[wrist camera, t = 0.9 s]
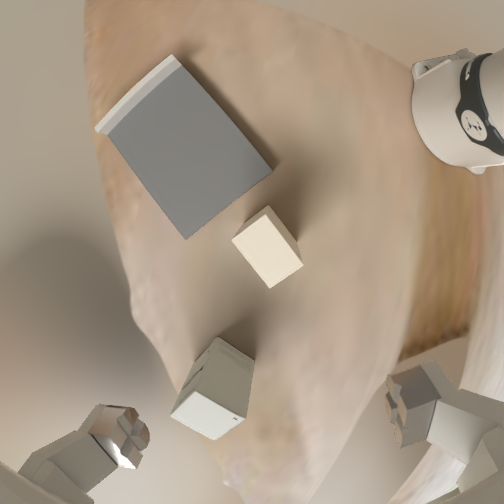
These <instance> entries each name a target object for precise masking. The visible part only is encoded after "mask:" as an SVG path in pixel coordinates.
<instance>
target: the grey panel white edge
mask: <svg viewBox="0 0 504 504" xmlns="http://www.w3.org/2000/svg"><path fill="white" fill-rule="evenodd" d="M94 129H95V130H96V132H97V133H100V134H106V135H108V137H109V138H110V139H111V141H112V142H113V144H114V145H115V147H116V148H117V149H118V151H119V152H120V154H121V155H122V156H123V158H124V159H125V161H126V162H127V163H128V165H129V166H130V167H131V169H132V170H133V172H134V173H135V174H136V176H137V177H138V178H139V180H140V181H141V182H142V184H143V185H144V187H145V188H146V189H147V191H148V192H149V193H150V195H151V196H152V197H153V199H154V200H155V201H156V203H157V204H158V205H159V206H160V208H161V209H162V210H163V212H164V213H165V214H166V216H167V217H168V218H169V220H170V221H171V222H172V223H173V225H174V226H175V227H176V229H177V230H178V231H179V232H180V234H181V235H182V236H183V237H184V239H185V240H186V239H188V238H189V237H190V236H191V235H193V234H194V233H195V232H196V231H197V230H199V229H200V228H201V227H202V226H204V225H205V224H206V223H207V222H208V221H210V220H211V219H212V218H213V217H215V216H216V215H217V214H218V213H220V212H221V211H222V210H223V209H225V208H226V207H227V206H229V205H230V204H231V203H232V202H234V201H235V200H236V199H237V198H239V197H240V196H241V195H243V194H244V193H245V192H246V191H248V190H249V189H250V188H252V187H253V186H254V185H256V184H257V183H258V182H259V181H261V180H262V179H263V178H265V177H266V176H267V175H269V174H270V173H271V172H273V171H272V169H271V168H270V167H269V166H268V164H267V163H266V162H265V160H264V159H263V158H262V157H261V155H260V154H259V153H258V152H257V151H256V149H255V148H254V147H253V146H252V144H251V143H250V142H249V141H248V139H247V138H246V137H245V136H244V135H243V133H242V132H241V131H240V130H239V129H238V127H237V126H236V125H235V124H234V123H233V122H232V120H231V119H230V118H229V117H228V116H227V115H226V113H225V112H224V111H223V110H222V109H221V108H220V106H219V105H218V104H217V103H216V102H215V101H214V100H213V98H212V97H211V96H210V95H209V94H208V93H207V92H206V91H205V89H204V88H203V87H202V86H201V85H200V84H199V83H198V82H197V81H196V80H195V79H194V77H193V76H192V75H191V74H190V73H189V72H188V71H187V70H186V69H185V68H184V67H183V66H182V65H181V64H180V62H179V61H178V60H177V59H176V58H175V57H174V56H173V55H172V54H171V55H170V56H168V57H167V58H166V59H165V60H163V61H162V62H161V63H160V64H159V65H158V66H156V67H155V68H154V69H153V70H152V71H151V72H149V73H148V74H147V75H146V76H145V77H144V78H143V79H142V80H141V81H139V82H138V83H136V84H135V85H134V86H133V87H132V88H131V89H130V90H129V91H128V92H127V93H126V94H125V95H124V96H123V97H122V99H121V100H120V101H119V102H118V103H117V104H116V105H115V106H114V107H113V108H112V109H111V110H110V111H109V112H108V113H107V115H106V116H105V117H104V118H103V119H102V120H101V121H100V122H99V123H98V125H97V126H96V127H95V128H94Z"/></svg>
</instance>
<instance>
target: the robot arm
mask: <svg viewBox="0 0 504 504" xmlns="http://www.w3.org/2000/svg"><path fill="white" fill-rule="evenodd" d="M424 67H425V68H426V69H427V70H426V69H425V68H424ZM412 74H413V79H414V89H413V94H412V113H413V118H414V122H415V125H416V127H417V130H418V132H419V134H420V136H421V138H422V140H423V141H424V143H425V144H426V146H427V147H428V148H429V149H430V150H431V152H432V153H433V154H434V155H435V156H437V157H438V158H439V159H441V160H442V161H444V162H445V163H448V164H450V165H454V166H462V167H466V168H467V169H468V170H470V171H471V172H473V173H474V174H482V173H483V172H484V170H485V169H486V167H487V166H496V165H504V49H502V50H500V51H498V52H496V53H494V54H492V53H486V54H482V55H479V56H476V55H474V54H473V53H471V52H469V51H468V49H462V50H460V51H458V52H456V54H453V55H448V56H443V57H438V58H433V59H429V60H424V61H420V62H417V63H415V64H413V66H412ZM386 386H387V388H388V390H389V391H388V393H387V394H386V401H385V403H386V411H387V414H388V418H389V420H390V422H391V423H393V424H394V425H395V431H394V433H395V436H396V439H397V441H398V444H399V446H400V448H403V447H406V446H408V445H412V444H414V443H417V442H420V441H423V440H425V439H427V441H428V442H430V443H431V444H433V445H434V446H436V447H438V448H439V449H441V450H442V451H444V452H446V453H447V454H449V455H451V456H452V457H454V458H456V459H457V460H459V461H461V462H462V463H464V464H466V465H467V466H466V468H465V469H464V471H463V472H462V474H461V476H460V477H459V479H458V481H457V482H456V483H457V485H458V488H459V490H460V494H458V495H456V496H454V497H452V498H450V499H448V500H446V501H444V502H441V503H439V504H504V402H501V401H498V400H495V399H492V398H488V397H485V396H482V395H479V394H476V393H473V392H470V391H467V390H464V389H460V390H457V389H456V387H455V386H454V385H453V383H452V382H451V381H450V379H449V378H448V377H447V375H446V374H445V373H444V371H443V370H442V369H441V367H440V366H439V365H438V363H437V362H436V361H435V360H433V359H431V360H429V361H426V362H423V363H421V364H418V365H416V366H413V367H410V368H407V369H404V370H401V371H399V372H396V373H393V374H389V375H387V378H386ZM138 417H139V414H138V413H137V412H136V410H135V408H131V407H124V406H113V405H103V404H99V405H96V406H95V408H94V409H93V410H92V412H91V413H90V414H89V416H88V417H87V418H86V420H85V421H84V423H83V424H82V425H81V427H80V428H79V429H78V431H73V432H71V433H69V434H67V435H66V436H64V437H62V438H60V439H58V440H56V441H54V442H52V443H50V444H49V445H47V446H45V447H43V448H41V449H39V450H37V451H35V452H33V453H32V454H31V455H30V457H29V458H28V459H27V461H26V462H25V463H24V465H23V466H22V467H21V469H20V470H19V471H18V473H17V472H15V471H14V470H12V469H11V468H10V467H8V466H7V465H5V464H4V463H2V462H1V461H0V504H94V500H93V499H92V498H91V497H89V496H88V495H87V494H86V493H87V492H88V491H90V490H91V489H92V488H93V487H95V486H96V485H97V484H98V483H100V482H101V481H102V480H103V479H104V478H106V477H107V476H108V475H109V474H110V473H112V472H113V471H114V470H115V469H116V468H118V466H121V467H127V468H133V469H137V468H138V465H139V463H140V461H141V459H142V457H143V455H142V452H141V451H142V450H143V449H145V448H146V447H147V446H148V443H149V441H150V433H149V430H148V428H147V426H146V425H145V423H143V422H142V421H141V420H139V419H138Z"/></svg>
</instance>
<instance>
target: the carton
mask: <svg viewBox="0 0 504 504" xmlns="http://www.w3.org/2000/svg"><path fill="white" fill-rule="evenodd" d="M232 242H233V243H234V244H235V245H236V247H237V248H238V249H239V251H240V252H241V253H242V254H243V256H244V257H245V258H246V259H247V261H248V262H249V263H250V264H251V266H252V267H253V268H254V269H255V271H256V272H257V273H258V274H259V276H260V277H261V278H262V279H263V281H264V282H265V283H266V284H267V286H268V287H269V288H271V287H273V286H274V285H276V284H277V283H279V282H280V281H282V280H283V279H285V278H286V277H287V276H289V275H290V274H292V273H293V272H295V271H296V270H297V269H299V268H300V267H302V266H303V261H302V258H301V255H300V251H299V248H298V245H297V242H296V240H295V239H294V238H293V236H292V235H291V234H290V232H289V231H288V230H287V228H286V227H285V226H284V224H283V223H282V222H281V220H280V219H279V218H278V216H277V215H276V214H275V212H274V211H273V210H272V208H271V207H270V206H269V205H267V206H266V207H265V208H263V209H262V210H261V211H259V212H258V213H257V214H255V215H254V216H253V217H251V218H250V219H249V220H248V221H246V222H245V223H244V224H243V225H242V226H241V228H240V229H239V230H238V232H237V233H236V234H235V236H234V237H233V238H232Z"/></svg>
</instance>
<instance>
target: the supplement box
mask: <svg viewBox="0 0 504 504" xmlns="http://www.w3.org/2000/svg"><path fill="white" fill-rule="evenodd" d="M254 363H255V361H254V360H253V359H251V358H250V357H248V356H247V355H245V354H243V353H242V352H240V351H239V350H237V349H236V348H234V347H233V346H231V345H230V344H228V343H227V342H225V341H224V340H222V339H221V338H219V337H216V338H215V339H214V341H213V342H212V343H211V344H210V346H209V347H208V348H207V349H206V350H205V351H204V353H203V354H202V355H201V356H200V357H199V358H198V359H197V360H196V361H195V362H194V363H193V366H192V368H191V370H190V372H189V374H188V376H187V379H186V381H185V383H184V385H183V387H182V389H181V392H180V394H179V396H178V399H177V401H176V403H175V405H174V408H173V410H172V412H171V415H170V416H171V417H172V418H174V419H176V420H177V421H179V422H181V423H183V424H184V425H186V426H188V427H189V428H192V429H193V430H195V431H197V432H199V433H201V434H203V435H205V436H207V437H208V438H210V439H212V440H217V439H218V438H220V437H221V436H223V435H224V434H225V433H227V432H228V431H230V430H231V429H232V428H234V427H235V426H236V425H238V424H239V423H241V422H242V421H243V420H245V419H246V415H247V409H248V403H249V396H250V390H251V383H252V377H253V371H254Z"/></svg>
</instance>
